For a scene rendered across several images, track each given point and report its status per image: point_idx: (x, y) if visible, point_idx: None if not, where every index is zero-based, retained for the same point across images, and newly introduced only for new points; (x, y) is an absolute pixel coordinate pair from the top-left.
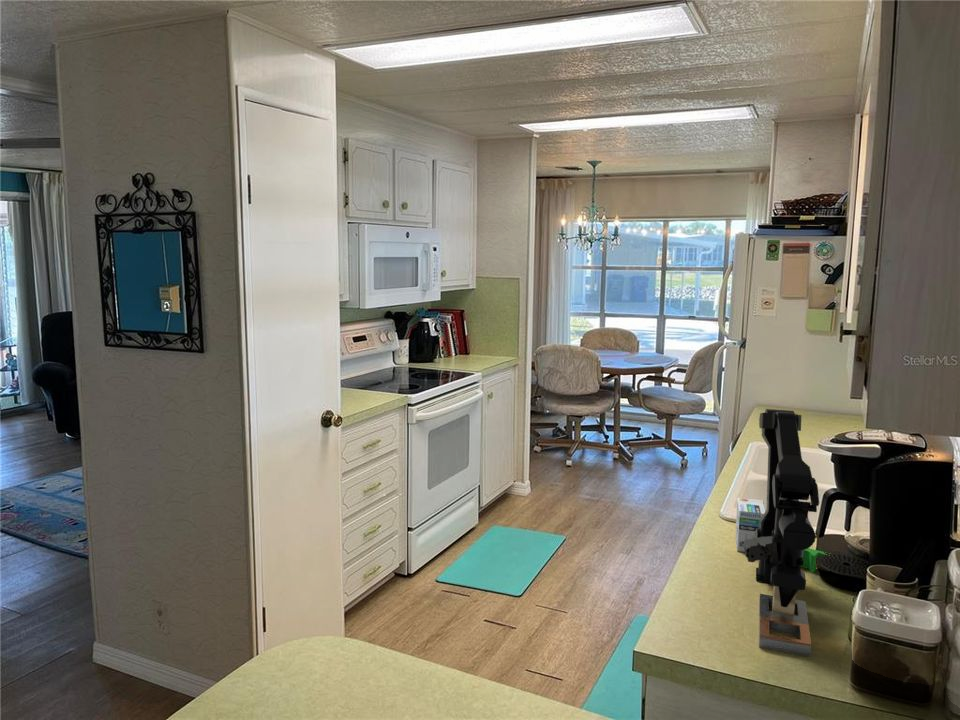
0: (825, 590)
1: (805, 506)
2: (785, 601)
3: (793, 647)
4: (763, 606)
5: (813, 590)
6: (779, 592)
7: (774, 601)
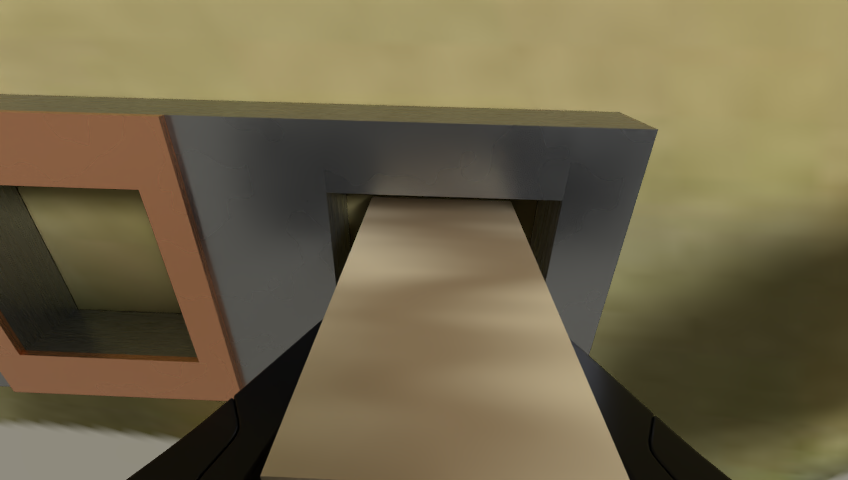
0: (807, 457)
1: None
2: None
3: None
4: (387, 153)
5: (812, 417)
6: (222, 405)
7: (347, 270)
